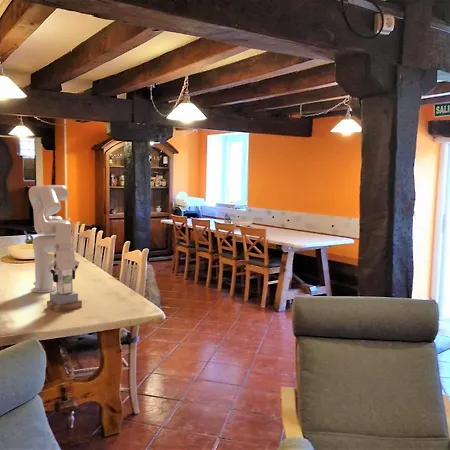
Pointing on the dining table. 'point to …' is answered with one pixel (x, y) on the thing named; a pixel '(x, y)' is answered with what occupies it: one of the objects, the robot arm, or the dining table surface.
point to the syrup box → (64, 282)
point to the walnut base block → (64, 306)
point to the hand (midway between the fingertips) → (64, 280)
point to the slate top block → (63, 298)
